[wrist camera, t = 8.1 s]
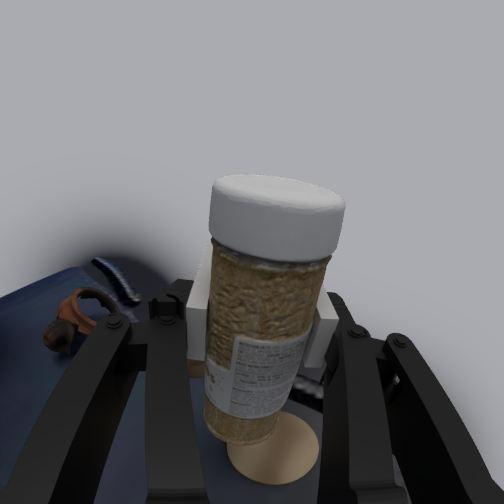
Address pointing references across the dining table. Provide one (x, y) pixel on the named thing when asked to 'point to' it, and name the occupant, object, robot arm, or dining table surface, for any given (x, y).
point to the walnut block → (196, 368)
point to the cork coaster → (278, 453)
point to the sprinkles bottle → (262, 296)
